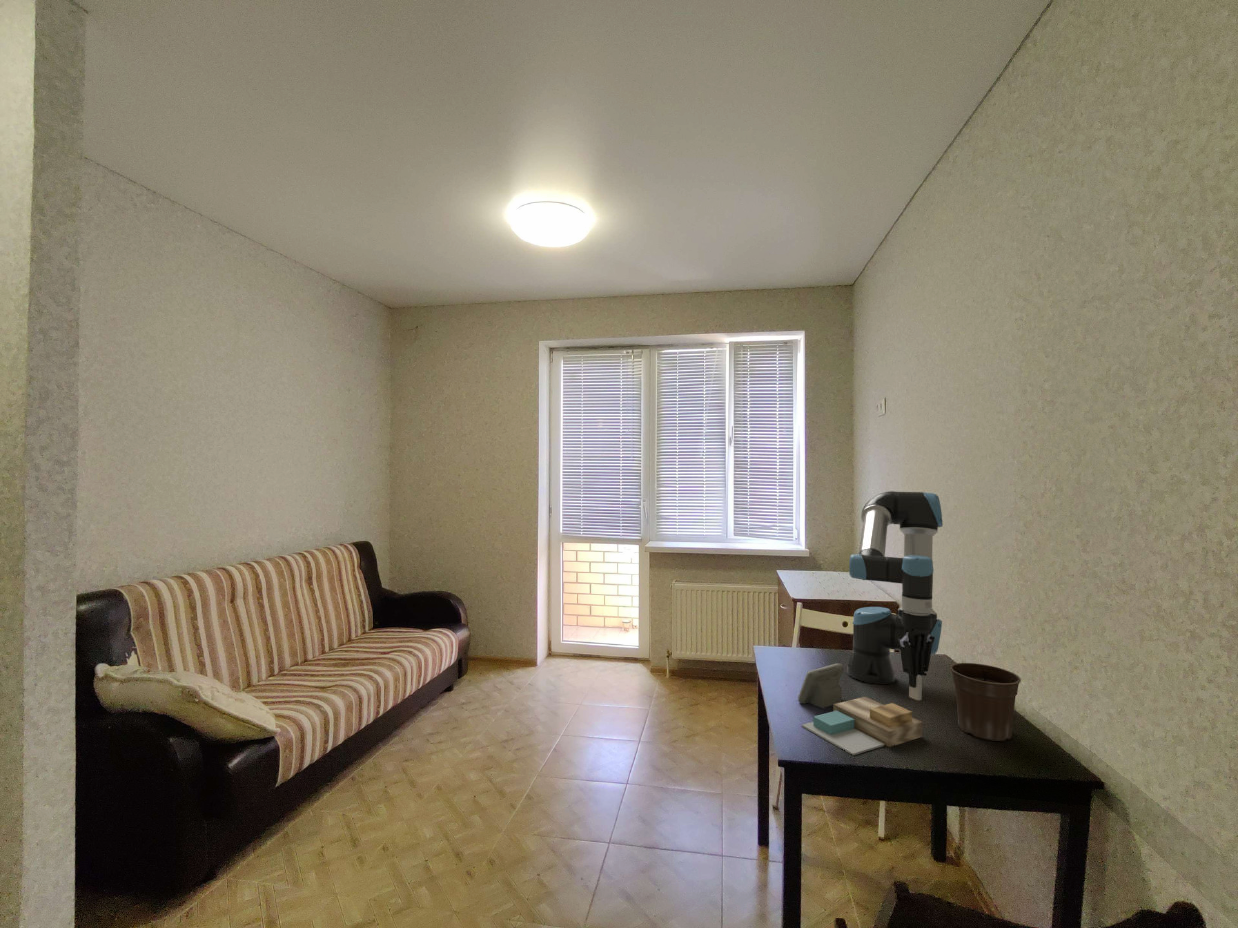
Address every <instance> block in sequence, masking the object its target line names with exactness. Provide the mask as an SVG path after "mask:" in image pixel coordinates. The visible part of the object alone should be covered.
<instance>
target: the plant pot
mask: <svg viewBox="0 0 1238 928" xmlns="http://www.w3.org/2000/svg"><path fill="white" fill-rule="evenodd" d="M949 669H950V671H951V673H952V681H953V684H954V691H955V701H956V709H957V721H958V722H957V725H958V728H959V729H960V730H961V731H963V732H964V733H965V734H971V735H973V736H974V737H976V738H979V739H982V740H986V741H990V742H991V741H992V742H1004V741H1006V740H1010V739H1011V738H1012V734H1013V733H1012V732H1013V731H1012V730H1013V723H1014V712H1015V704H1016V696H1017V695H1018V690H1019V685H1020V683H1021V681H1022V678H1021V677H1020V676H1019V675H1017V674H1016V673H1014V672H1012V671H1010V670H1006V669H1004V668H1002V667H997V666H993V665H989V664H988V665H987V664H983V663H974V662H959V663H958V662H957V663H953V664H951V665H950V668H949Z"/></svg>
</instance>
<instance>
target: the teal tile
mask: <svg viewBox="0 0 1238 928" xmlns="http://www.w3.org/2000/svg"><path fill="white" fill-rule="evenodd" d="M812 722H813V726H815V727H817V728H819V729H820V730H822V731H824V732H826V733H828V734H830V735H833V734H836V733H840V732H844V731H847V730H851V729H854V722H855V719H853V718H851V717H849V716H847V715H845V714H843V713H841V712H839V711H830V712H825V713H822V714H818V715H814V716H813V720H812Z"/></svg>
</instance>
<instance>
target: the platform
mask: <svg viewBox="0 0 1238 928" xmlns="http://www.w3.org/2000/svg"><path fill="white" fill-rule="evenodd" d="M883 705H884V704H883V703H881V702H878V701H876V700H873V699H871V698H869V697H868V696H862V697H858V698H854V699H850V700H849V699H848V700H846V701H841V702H840V703H837V704H833V705H832V708H833V711H839V712H841V713H843V714H845V715H847V716H849V717H851V718H853V719H855V722H854V729H856V730H858V731H860V732H862V733H864V734H866V735H868V736H870V737H872V738H874V739H876V740H878V741H880V742H882V743H884V746H886V747H888V748H891V747H894V745H895V746H897V745H898V746H899V745H900V744H904V743H907V742H910V741H913V740H916V739H920V738H922V737H923V721H921V720H919V719H916V718H914V717H912V721H910V722H907V723H903V724H900V725H897V726H893V727H890V728H889V727H887V726H885V725H883V724H881V723H879V722H877V721H875V720H873V719H871V718H870V709H871V708H875V707H879V706H883ZM833 711H832V712H833Z"/></svg>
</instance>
